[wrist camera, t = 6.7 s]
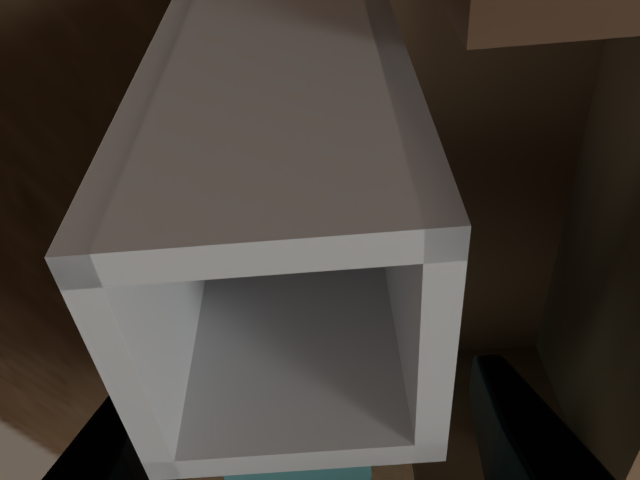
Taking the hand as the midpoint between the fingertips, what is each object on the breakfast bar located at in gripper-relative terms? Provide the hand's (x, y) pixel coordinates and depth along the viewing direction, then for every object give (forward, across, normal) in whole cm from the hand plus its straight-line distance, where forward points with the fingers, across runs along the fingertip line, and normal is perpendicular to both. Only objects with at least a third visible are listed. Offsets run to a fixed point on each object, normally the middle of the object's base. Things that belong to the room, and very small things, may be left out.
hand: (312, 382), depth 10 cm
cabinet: (+6, -2, -1) cm, 6 cm away
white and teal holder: (+4, 0, 0) cm, 4 cm away
